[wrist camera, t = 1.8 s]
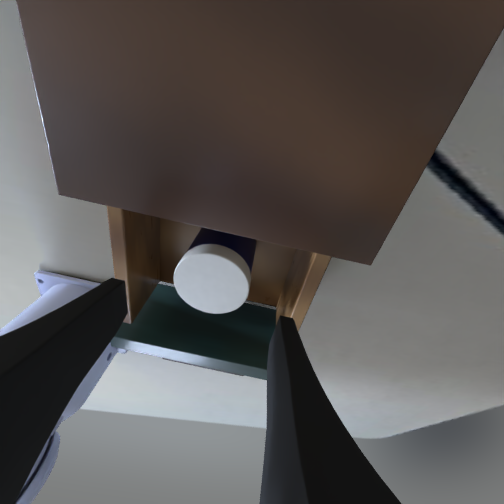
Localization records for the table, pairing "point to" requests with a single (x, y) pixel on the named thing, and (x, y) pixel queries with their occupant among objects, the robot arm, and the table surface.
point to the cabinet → (255, 108)
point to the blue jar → (216, 271)
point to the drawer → (191, 319)
